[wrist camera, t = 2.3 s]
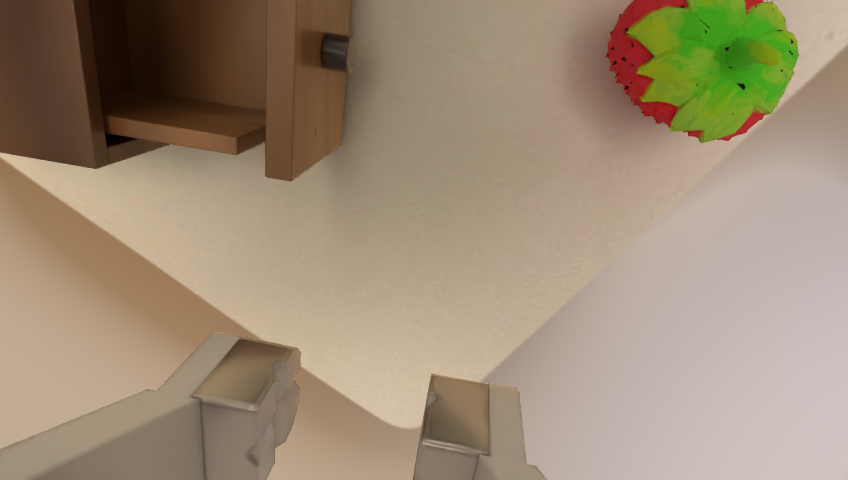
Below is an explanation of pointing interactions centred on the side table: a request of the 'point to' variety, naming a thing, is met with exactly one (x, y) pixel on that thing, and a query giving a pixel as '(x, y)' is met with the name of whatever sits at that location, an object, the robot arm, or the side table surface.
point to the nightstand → (55, 87)
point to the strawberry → (703, 62)
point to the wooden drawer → (226, 75)
